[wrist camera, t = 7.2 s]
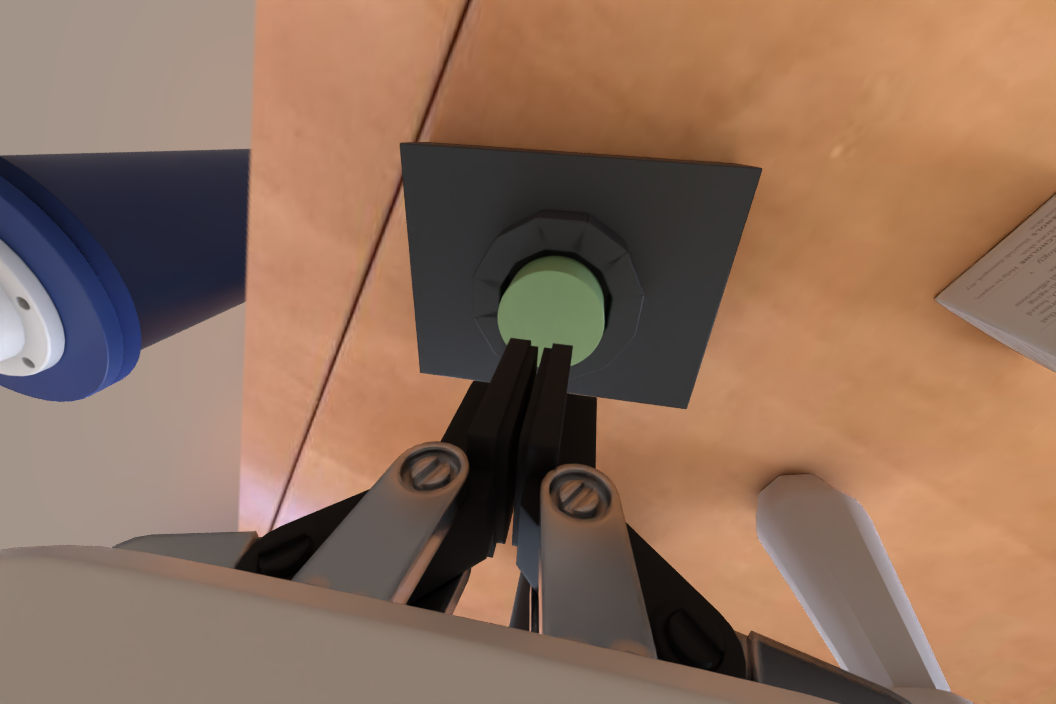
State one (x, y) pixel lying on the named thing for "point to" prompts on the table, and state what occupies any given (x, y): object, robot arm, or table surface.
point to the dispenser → (574, 256)
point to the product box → (1014, 289)
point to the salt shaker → (848, 586)
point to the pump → (554, 306)
